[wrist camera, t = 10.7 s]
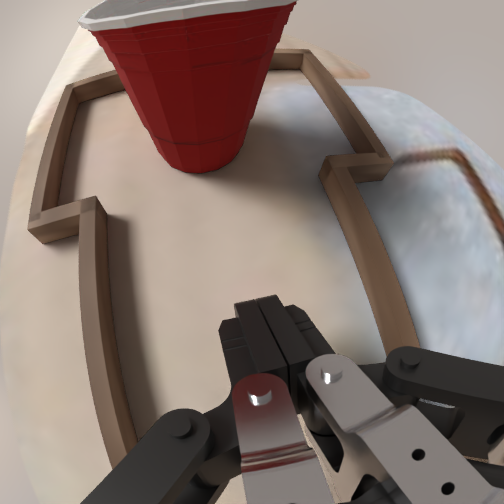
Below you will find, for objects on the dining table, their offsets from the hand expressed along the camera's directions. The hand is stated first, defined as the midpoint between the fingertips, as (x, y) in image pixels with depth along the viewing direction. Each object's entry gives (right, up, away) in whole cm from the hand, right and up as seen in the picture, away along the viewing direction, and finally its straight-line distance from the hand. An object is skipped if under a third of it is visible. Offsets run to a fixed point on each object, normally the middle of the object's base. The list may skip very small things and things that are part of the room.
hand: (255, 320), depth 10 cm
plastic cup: (-4, +10, +9) cm, 14 cm away
